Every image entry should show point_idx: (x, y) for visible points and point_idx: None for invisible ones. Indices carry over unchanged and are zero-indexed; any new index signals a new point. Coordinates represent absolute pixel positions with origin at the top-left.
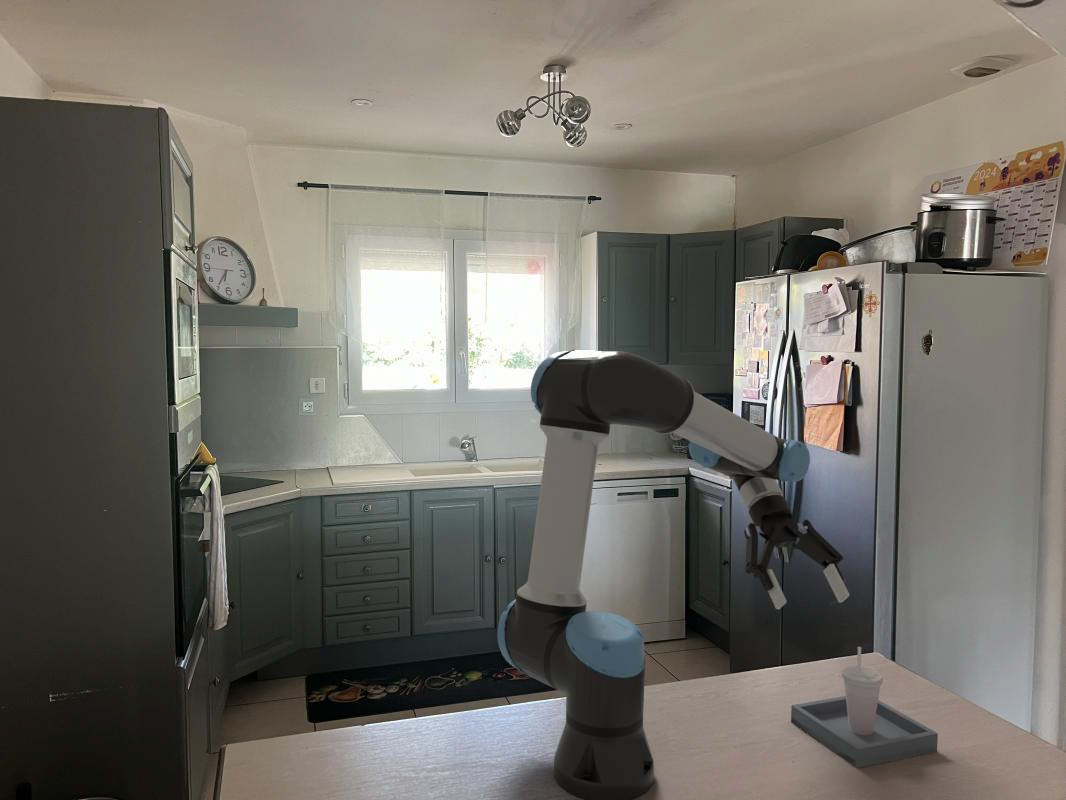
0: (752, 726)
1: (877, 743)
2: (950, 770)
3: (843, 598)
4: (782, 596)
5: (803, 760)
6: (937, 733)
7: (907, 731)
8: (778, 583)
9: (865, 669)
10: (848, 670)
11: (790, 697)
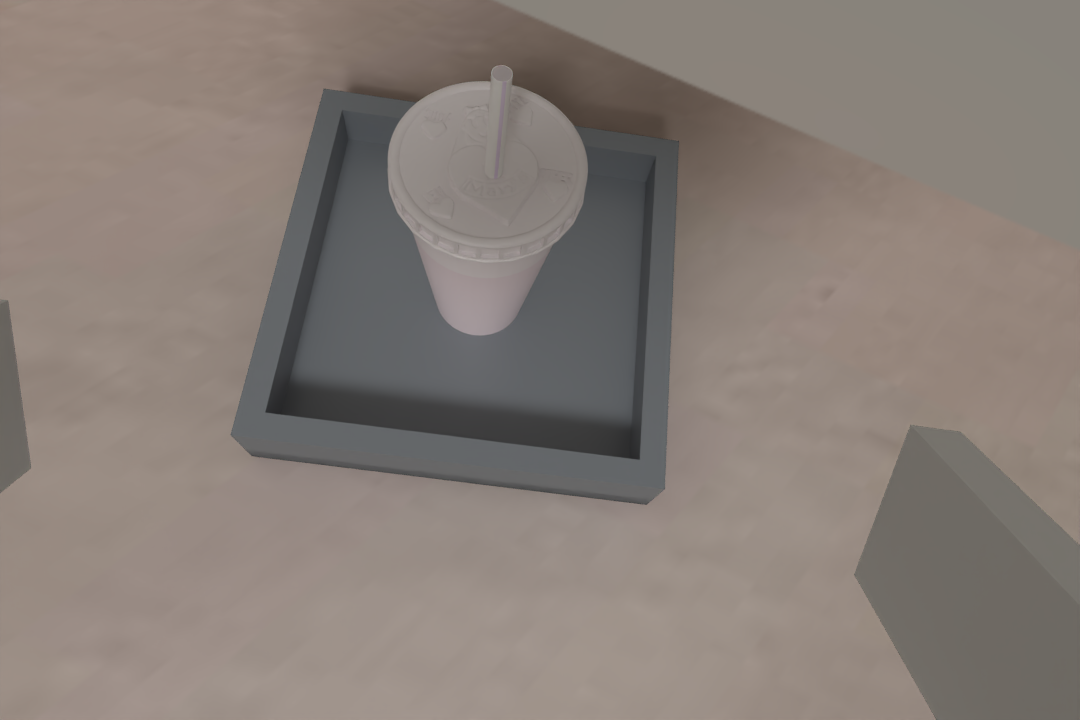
0: (819, 547)
1: (586, 135)
2: (409, 60)
3: (14, 375)
4: (976, 465)
5: (790, 282)
6: (325, 89)
7: (328, 216)
8: (1068, 589)
9: (419, 188)
10: (514, 220)
11: (465, 709)
